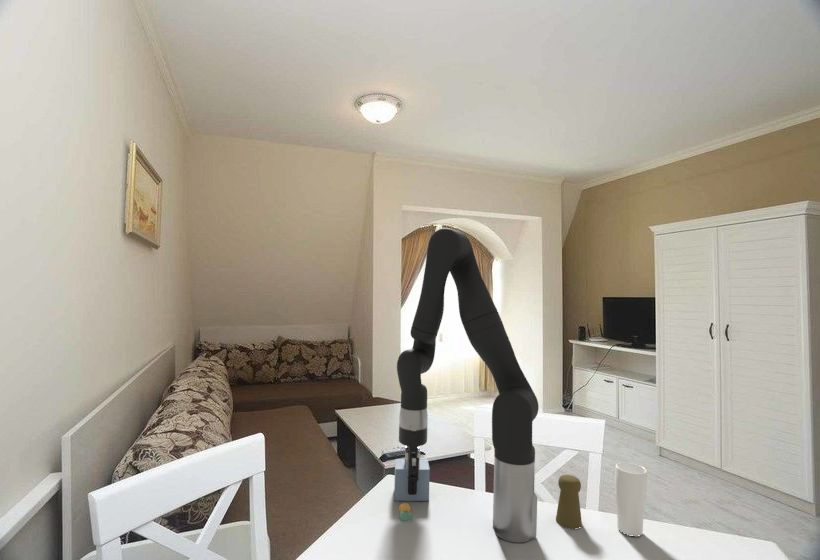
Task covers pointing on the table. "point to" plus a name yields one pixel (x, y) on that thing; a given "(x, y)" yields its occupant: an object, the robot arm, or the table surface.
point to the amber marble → (404, 507)
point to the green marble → (405, 516)
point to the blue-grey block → (402, 481)
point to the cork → (569, 502)
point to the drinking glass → (630, 497)
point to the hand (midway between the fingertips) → (411, 487)
